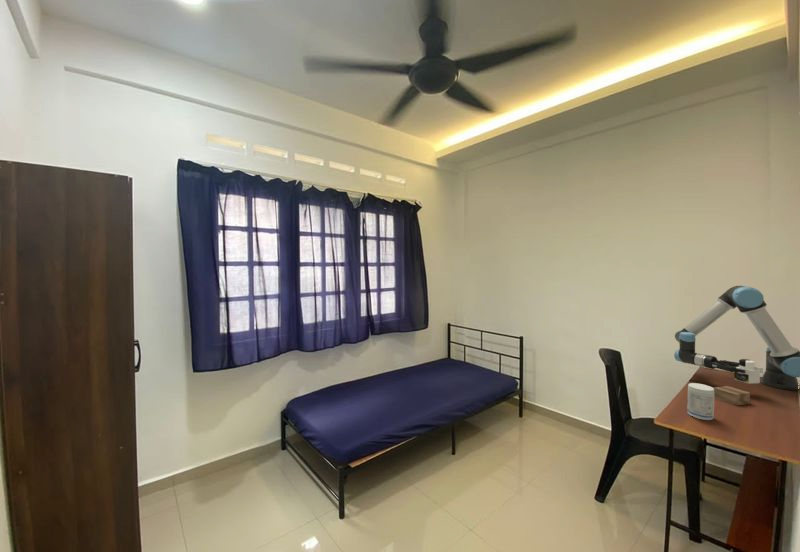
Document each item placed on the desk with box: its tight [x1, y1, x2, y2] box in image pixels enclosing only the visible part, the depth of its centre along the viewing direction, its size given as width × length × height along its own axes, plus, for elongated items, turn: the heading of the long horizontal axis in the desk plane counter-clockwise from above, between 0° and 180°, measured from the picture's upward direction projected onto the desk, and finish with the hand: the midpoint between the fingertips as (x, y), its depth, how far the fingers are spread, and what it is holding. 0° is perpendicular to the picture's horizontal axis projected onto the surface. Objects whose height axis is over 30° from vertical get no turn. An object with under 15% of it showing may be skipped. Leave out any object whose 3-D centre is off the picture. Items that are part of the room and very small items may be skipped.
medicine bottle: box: [733, 358, 761, 385], centre depth 181 cm, size 7×7×12 cm
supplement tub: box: [686, 382, 715, 421], centre depth 157 cm, size 10×10×15 cm
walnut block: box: [713, 385, 751, 406], centre depth 175 cm, size 10×10×6 cm
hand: (758, 372), depth 177 cm, fingers closed on medicine bottle, 9 cm apart
